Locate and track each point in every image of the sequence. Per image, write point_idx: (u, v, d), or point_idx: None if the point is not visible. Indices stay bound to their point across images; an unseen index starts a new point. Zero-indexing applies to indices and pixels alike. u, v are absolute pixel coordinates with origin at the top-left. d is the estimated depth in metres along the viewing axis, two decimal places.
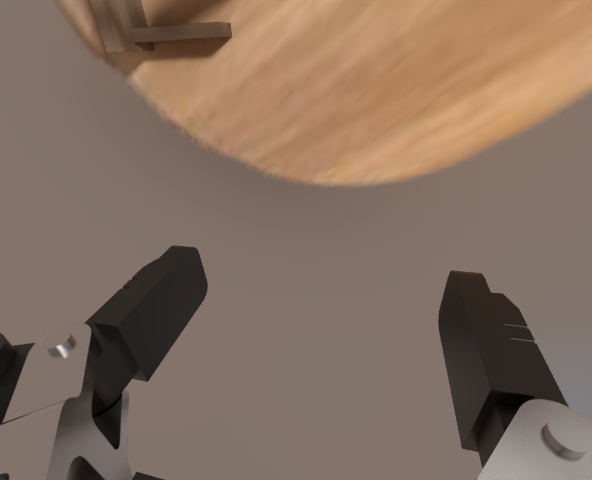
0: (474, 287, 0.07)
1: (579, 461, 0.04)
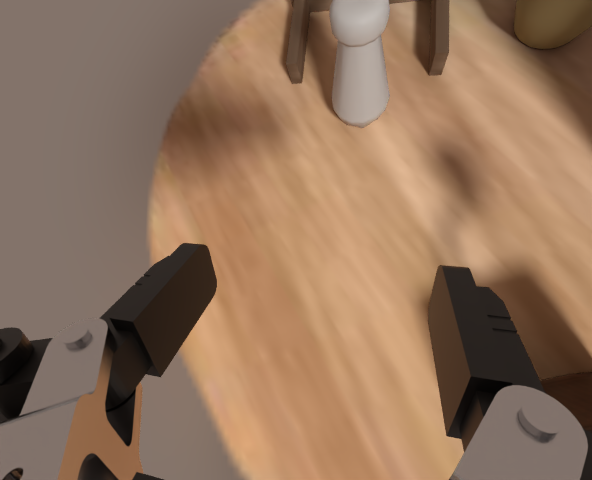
0: (460, 281, 0.08)
1: (550, 442, 0.04)
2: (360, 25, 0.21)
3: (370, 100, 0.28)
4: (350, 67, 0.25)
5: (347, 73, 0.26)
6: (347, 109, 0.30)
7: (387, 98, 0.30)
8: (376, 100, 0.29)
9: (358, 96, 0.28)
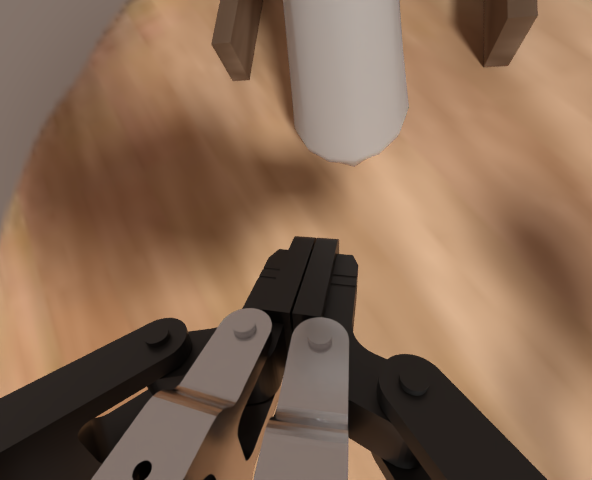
0: (324, 248, 0.09)
1: (319, 350, 0.06)
2: None
3: (368, 118, 0.13)
4: (313, 39, 0.10)
5: (309, 54, 0.10)
6: (320, 135, 0.14)
7: (404, 112, 0.14)
8: (381, 118, 0.13)
9: (340, 110, 0.12)
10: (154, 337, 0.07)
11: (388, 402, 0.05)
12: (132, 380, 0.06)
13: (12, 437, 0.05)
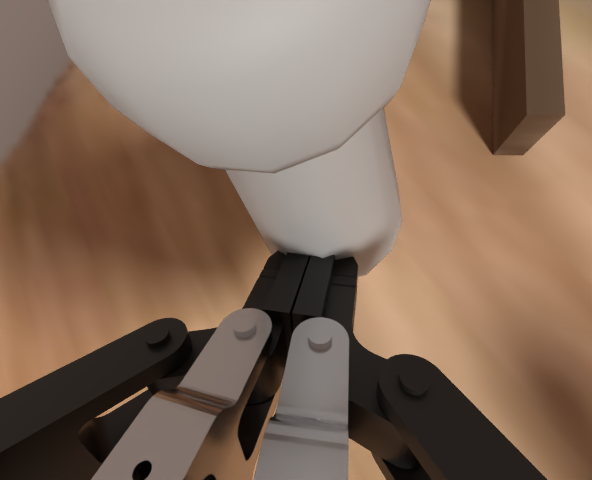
0: None
1: (319, 350, 0.06)
2: (198, 75, 0.03)
3: None
4: (262, 204, 0.07)
5: (260, 212, 0.07)
6: None
7: (396, 231, 0.11)
8: (366, 255, 0.10)
9: None
10: (154, 337, 0.07)
11: (388, 402, 0.05)
12: (132, 380, 0.06)
13: (12, 437, 0.05)
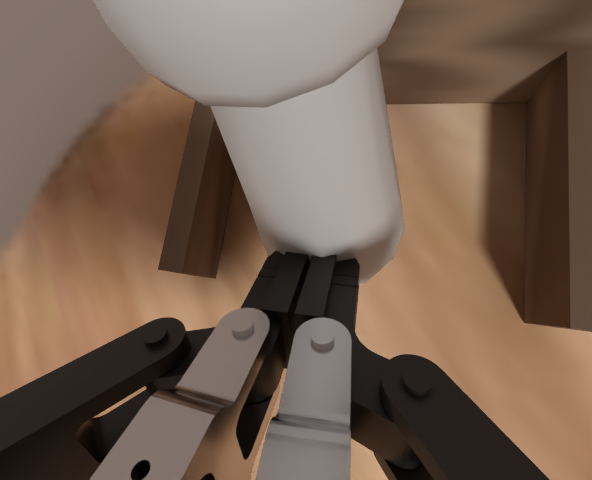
0: None
1: (321, 350, 0.06)
2: None
3: (346, 257, 0.09)
4: (257, 178, 0.07)
5: (256, 191, 0.07)
6: None
7: (398, 237, 0.11)
8: (365, 255, 0.10)
9: (308, 249, 0.09)
10: (152, 337, 0.07)
11: (391, 402, 0.05)
12: (130, 380, 0.06)
13: (10, 437, 0.05)
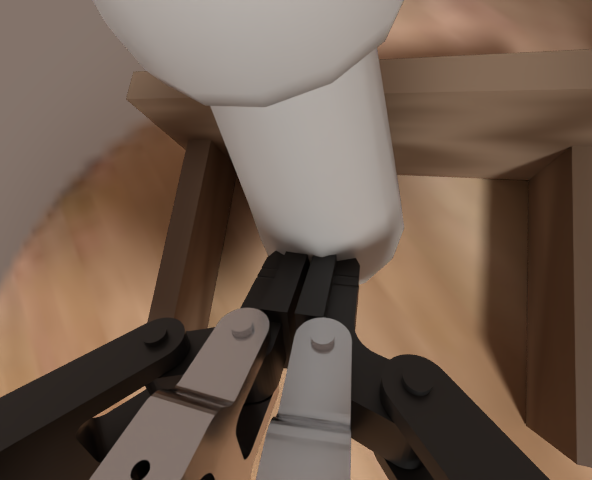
0: None
1: (322, 350, 0.06)
2: None
3: (346, 257, 0.09)
4: (257, 178, 0.07)
5: (256, 191, 0.07)
6: None
7: (397, 237, 0.11)
8: (365, 255, 0.10)
9: (307, 249, 0.09)
10: (152, 336, 0.07)
11: (391, 402, 0.05)
12: (130, 380, 0.06)
13: (10, 437, 0.05)
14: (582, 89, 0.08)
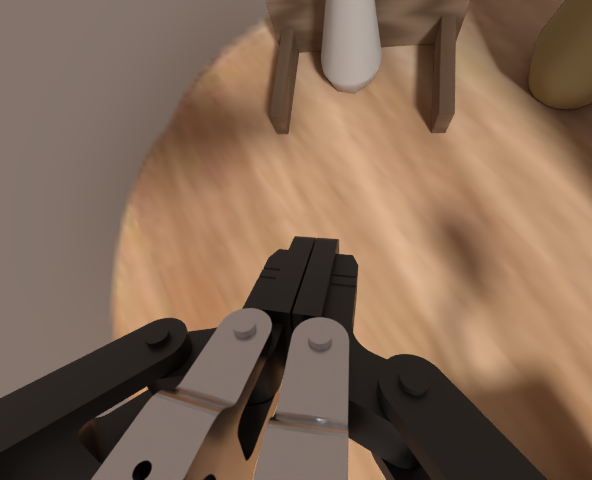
0: (324, 248, 0.09)
1: (319, 350, 0.06)
2: None
3: (363, 57, 0.27)
4: (341, 17, 0.24)
5: (338, 25, 0.24)
6: (339, 69, 0.28)
7: (380, 57, 0.28)
8: (369, 58, 0.27)
9: (350, 52, 0.26)
10: (154, 337, 0.07)
11: (388, 402, 0.05)
12: (132, 380, 0.06)
13: (12, 437, 0.05)
14: None
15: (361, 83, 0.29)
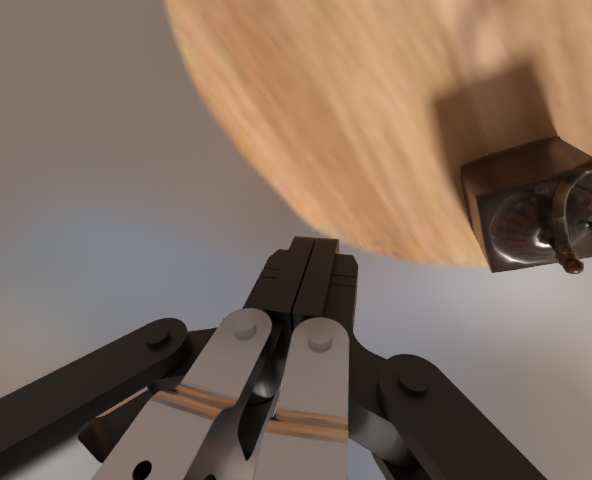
0: (324, 248, 0.09)
1: (319, 350, 0.06)
2: None
3: None
4: None
5: None
6: None
7: None
8: None
9: None
10: (154, 337, 0.07)
11: (388, 402, 0.05)
12: (132, 380, 0.06)
13: (12, 437, 0.05)
14: None
15: None
